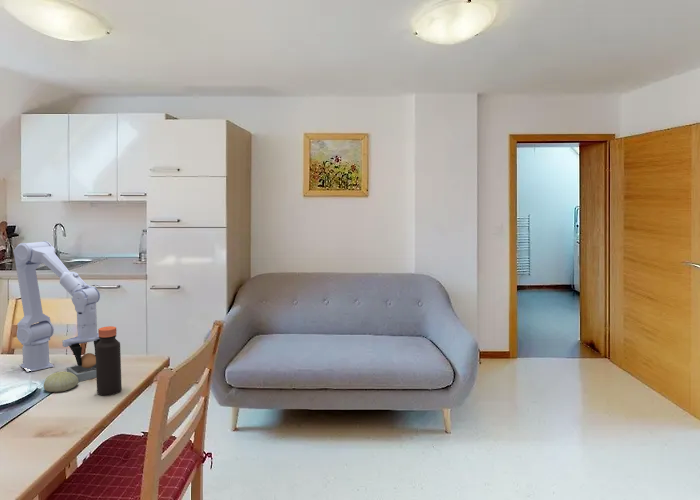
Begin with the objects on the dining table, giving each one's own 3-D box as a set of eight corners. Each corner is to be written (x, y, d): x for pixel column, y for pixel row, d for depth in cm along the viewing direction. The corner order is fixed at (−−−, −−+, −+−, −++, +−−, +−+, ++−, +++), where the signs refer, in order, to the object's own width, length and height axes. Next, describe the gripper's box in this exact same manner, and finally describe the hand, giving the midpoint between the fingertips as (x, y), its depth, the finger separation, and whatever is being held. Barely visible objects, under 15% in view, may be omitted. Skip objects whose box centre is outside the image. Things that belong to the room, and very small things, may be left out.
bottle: (110, 385, 149) (108, 324, 147) (126, 389, 147) (124, 326, 145) (91, 393, 143) (89, 329, 141) (108, 397, 140) (106, 332, 138)
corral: (66, 374, 158) (66, 367, 158) (100, 366, 166) (99, 359, 165) (76, 382, 151) (76, 374, 151) (111, 373, 159) (110, 366, 159)
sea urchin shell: (64, 389, 141) (47, 369, 142) (49, 405, 143) (33, 385, 143) (87, 378, 150) (71, 359, 151) (73, 393, 152) (57, 375, 152)
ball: (78, 367, 158) (77, 353, 158) (94, 364, 162) (93, 350, 161) (83, 371, 155) (82, 357, 154) (99, 367, 159) (98, 353, 158)
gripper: (66, 330, 149) (68, 371, 150) (114, 322, 159) (115, 360, 161) (59, 325, 153) (61, 366, 155) (106, 318, 164) (107, 355, 166)
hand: (88, 363), depth 158 cm, fingers closed on ball, 5 cm apart
